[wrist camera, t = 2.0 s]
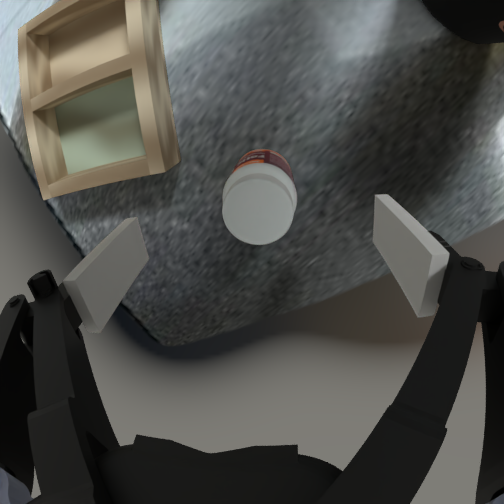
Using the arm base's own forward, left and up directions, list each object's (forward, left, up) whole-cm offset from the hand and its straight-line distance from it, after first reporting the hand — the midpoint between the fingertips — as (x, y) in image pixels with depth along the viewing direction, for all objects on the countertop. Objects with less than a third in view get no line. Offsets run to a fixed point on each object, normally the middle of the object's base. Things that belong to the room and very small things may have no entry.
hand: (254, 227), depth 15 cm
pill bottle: (0, 0, -10) cm, 10 cm away
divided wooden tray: (-11, -13, -9) cm, 20 cm away
